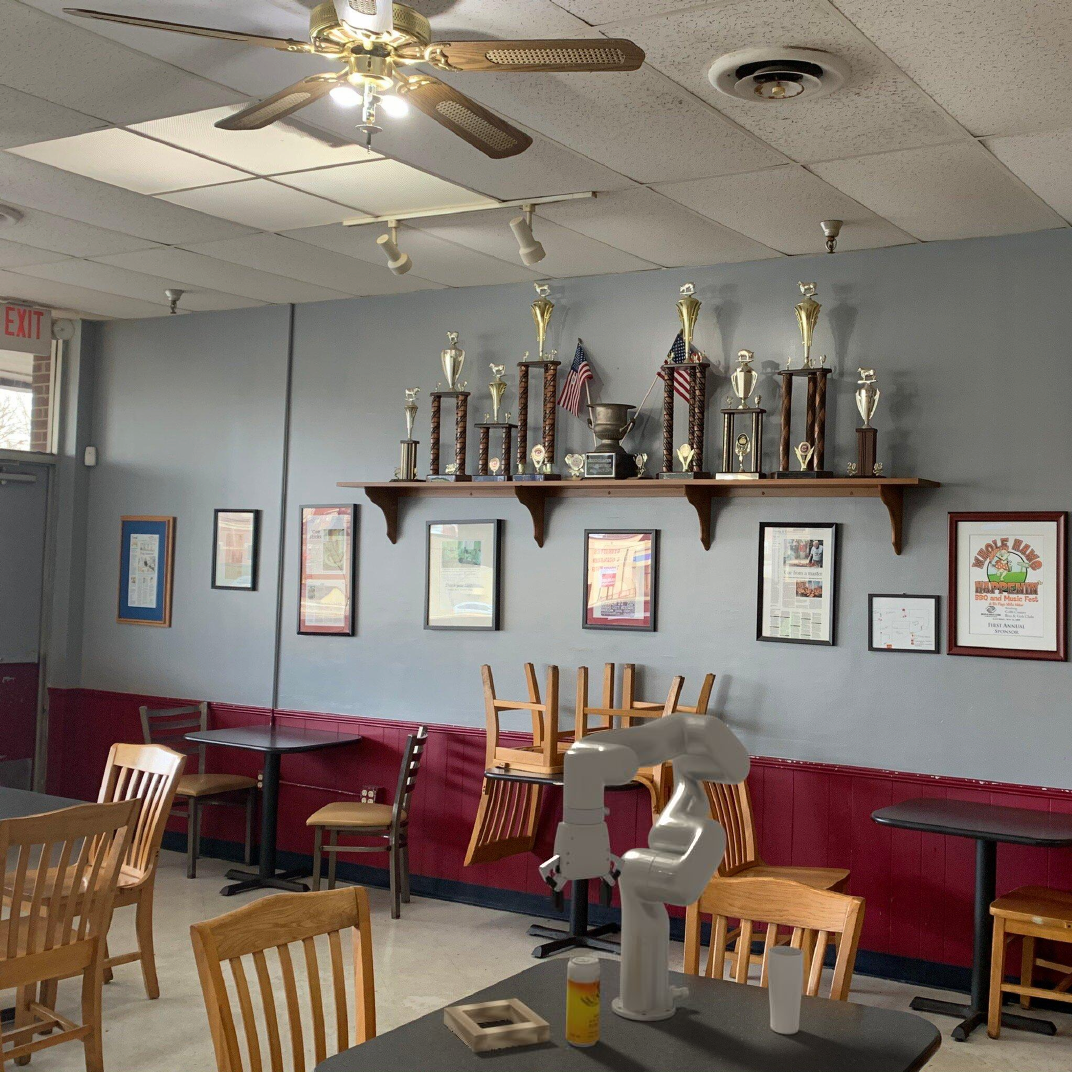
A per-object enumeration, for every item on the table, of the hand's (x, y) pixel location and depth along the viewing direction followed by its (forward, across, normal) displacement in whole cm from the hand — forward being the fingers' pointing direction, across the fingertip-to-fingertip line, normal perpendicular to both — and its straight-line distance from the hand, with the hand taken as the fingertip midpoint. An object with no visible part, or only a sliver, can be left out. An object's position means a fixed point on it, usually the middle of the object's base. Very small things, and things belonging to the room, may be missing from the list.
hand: (581, 908), depth 222 cm
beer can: (+24, 0, +1) cm, 24 cm away
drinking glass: (+25, -39, +8) cm, 47 cm away
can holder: (+24, +13, -9) cm, 29 cm away
